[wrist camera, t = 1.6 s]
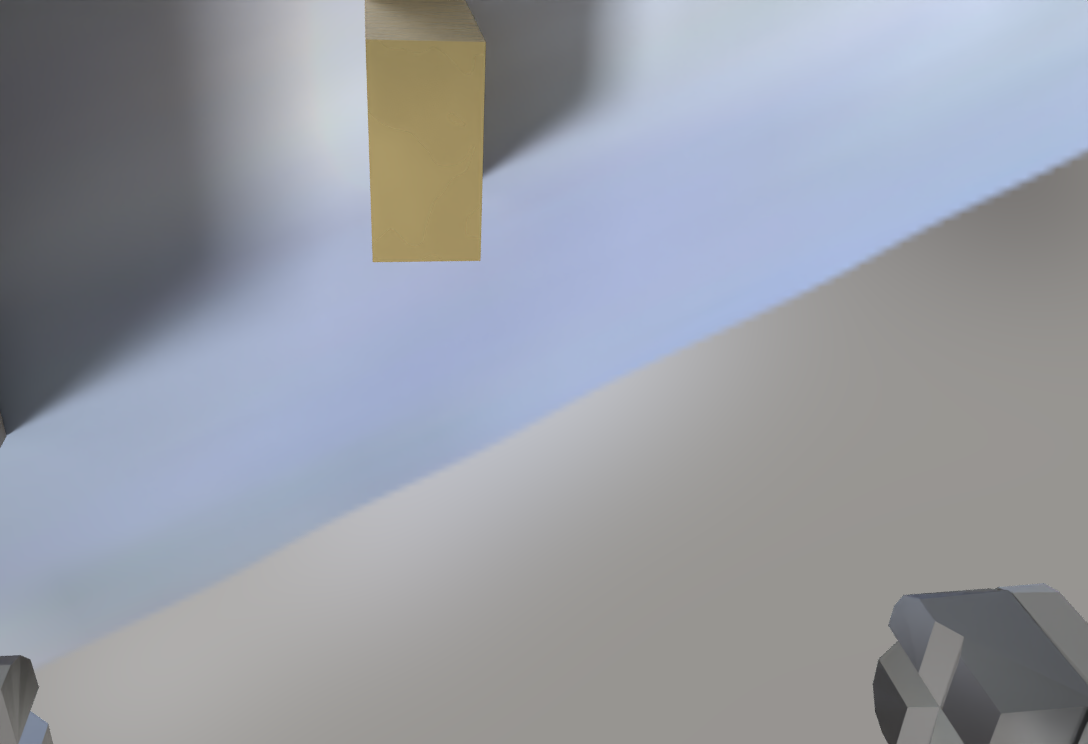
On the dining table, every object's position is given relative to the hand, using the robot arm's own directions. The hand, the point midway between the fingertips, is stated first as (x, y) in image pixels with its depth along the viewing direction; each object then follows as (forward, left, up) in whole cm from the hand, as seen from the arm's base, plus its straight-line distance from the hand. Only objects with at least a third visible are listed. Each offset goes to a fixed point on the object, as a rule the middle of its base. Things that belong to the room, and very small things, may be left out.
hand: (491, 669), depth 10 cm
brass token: (0, 0, -20) cm, 20 cm away
